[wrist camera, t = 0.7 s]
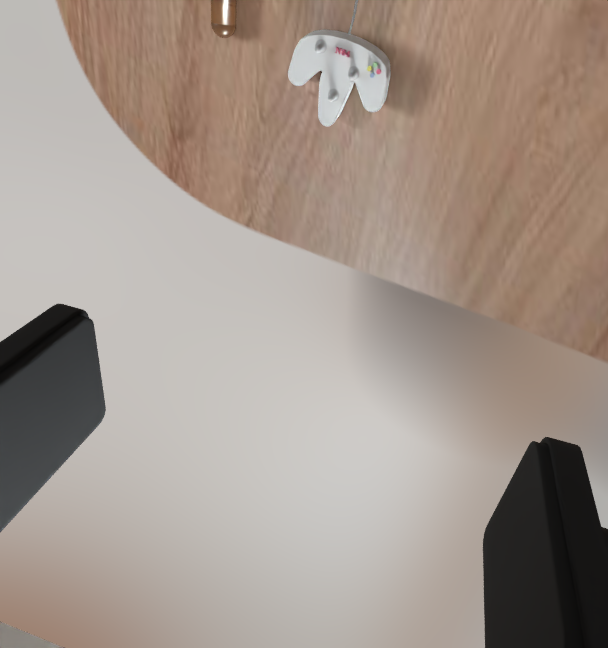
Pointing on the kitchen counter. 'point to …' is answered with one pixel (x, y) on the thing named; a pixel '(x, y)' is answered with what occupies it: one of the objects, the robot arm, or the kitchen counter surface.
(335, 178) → the kitchen counter surface
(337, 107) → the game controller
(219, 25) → the spoon
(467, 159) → the kitchen counter surface
